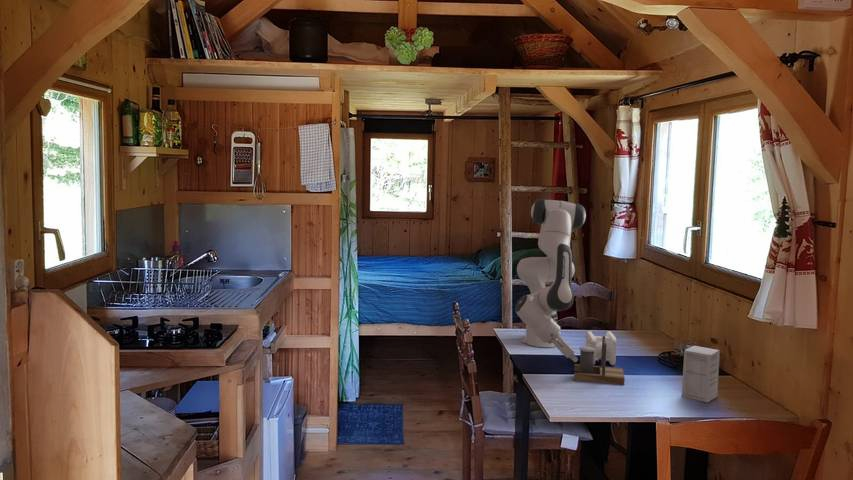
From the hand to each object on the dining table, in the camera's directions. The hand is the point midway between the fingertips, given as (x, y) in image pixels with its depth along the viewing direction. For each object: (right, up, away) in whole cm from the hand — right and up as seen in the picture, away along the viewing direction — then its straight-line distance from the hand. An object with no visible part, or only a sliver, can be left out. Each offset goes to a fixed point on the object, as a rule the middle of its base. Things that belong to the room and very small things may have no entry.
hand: (573, 357), depth 261 cm
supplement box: (+40, -11, -19) cm, 46 cm away
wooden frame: (+9, -8, 0) cm, 12 cm away
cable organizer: (+15, -6, +20) cm, 26 cm away
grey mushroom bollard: (+5, -7, +1) cm, 9 cm away
